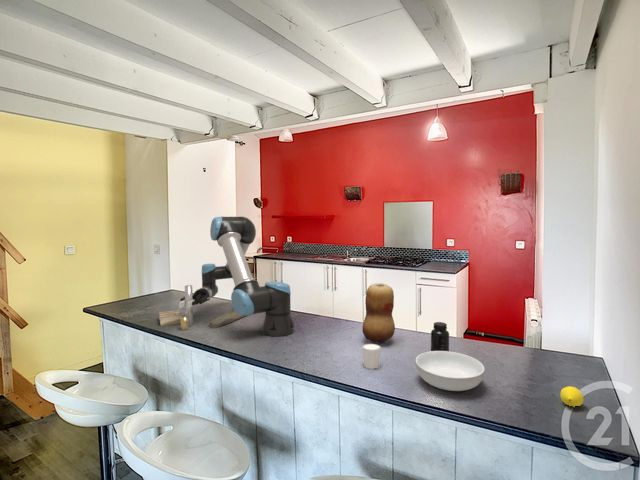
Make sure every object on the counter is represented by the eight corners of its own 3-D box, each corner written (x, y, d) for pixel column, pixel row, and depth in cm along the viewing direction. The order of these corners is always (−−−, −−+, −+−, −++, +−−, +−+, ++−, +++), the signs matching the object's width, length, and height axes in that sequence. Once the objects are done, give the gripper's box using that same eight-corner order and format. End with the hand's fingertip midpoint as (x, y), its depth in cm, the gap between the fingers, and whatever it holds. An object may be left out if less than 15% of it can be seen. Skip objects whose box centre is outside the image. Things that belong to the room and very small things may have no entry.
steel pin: (193, 325, 181) (192, 286, 180) (186, 326, 180) (185, 286, 178) (192, 323, 184) (191, 284, 183) (185, 324, 183) (184, 285, 181)
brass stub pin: (189, 329, 175) (188, 317, 174) (181, 331, 173) (180, 318, 173) (188, 328, 178) (187, 315, 177) (180, 329, 176) (179, 316, 176)
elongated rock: (203, 329, 180) (220, 333, 176) (203, 319, 179) (219, 322, 176) (243, 309, 212) (258, 311, 208) (243, 300, 211) (258, 302, 208)
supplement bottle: (426, 352, 144) (427, 322, 143) (441, 349, 146) (441, 320, 146) (438, 358, 137) (438, 327, 137) (452, 355, 140) (453, 325, 139)
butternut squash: (377, 350, 146) (377, 288, 145) (356, 340, 157) (356, 283, 156) (401, 343, 154) (402, 284, 152) (380, 334, 165) (380, 280, 163)
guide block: (181, 323, 186) (181, 316, 186) (160, 325, 182) (160, 318, 181) (179, 316, 198) (178, 310, 198) (159, 318, 194) (158, 312, 194)
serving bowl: (405, 388, 114) (405, 366, 114) (426, 365, 131) (426, 346, 131) (477, 407, 102) (477, 383, 102) (489, 379, 120) (490, 358, 119)
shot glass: (368, 360, 136) (368, 342, 136) (384, 365, 132) (384, 346, 131) (358, 366, 131) (358, 347, 130) (374, 371, 126) (374, 351, 126)
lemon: (562, 400, 107) (563, 381, 107) (584, 406, 103) (585, 387, 103) (557, 406, 102) (558, 386, 102) (580, 413, 98) (582, 393, 98)
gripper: (217, 301, 199) (201, 313, 176) (188, 301, 200) (167, 312, 177) (217, 288, 198) (200, 297, 175) (187, 288, 199) (167, 297, 176)
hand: (184, 305), depth 176 cm, fingers closed on steel pin, 3 cm apart
